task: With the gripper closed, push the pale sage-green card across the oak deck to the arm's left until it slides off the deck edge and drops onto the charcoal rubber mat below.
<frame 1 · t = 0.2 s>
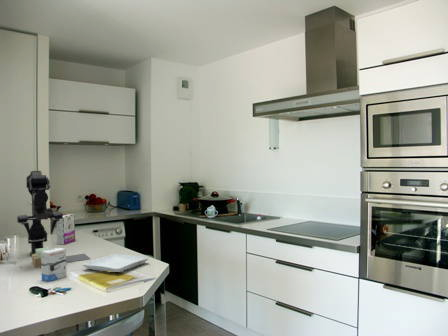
hand: (40, 235, 177), 14 cm above the table, fingers open, 9 cm apart
deck: (48, 262, 182), on the table
mat: (74, 258, 189), on the table
ink box: (54, 278, 157), on the table
salad plate: (116, 268, 172), on the table
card: (43, 255, 181), point 4 cm above the table, touching deck
candy bar box: (66, 243, 228), on the table
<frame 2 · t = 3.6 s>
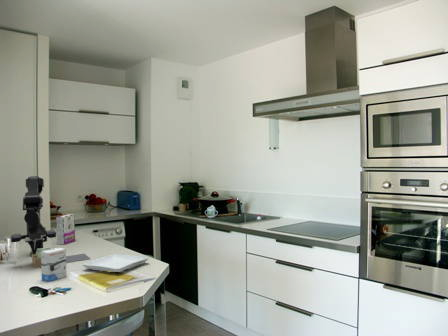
hand: (34, 254, 179), 5 cm above the table, fingers closed
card: (43, 255, 181), point 4 cm above the table, touching deck, gripper
everything else where it was.
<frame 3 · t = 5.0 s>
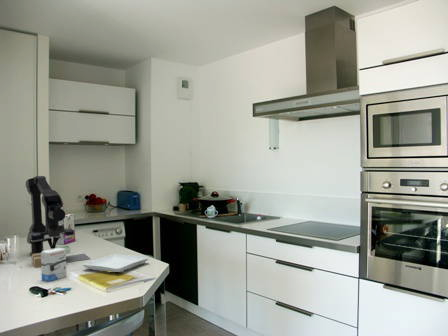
hand: (52, 251, 183), 5 cm above the table, fingers closed
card: (62, 252, 186), point 4 cm above the table, touching deck
everything else where it was.
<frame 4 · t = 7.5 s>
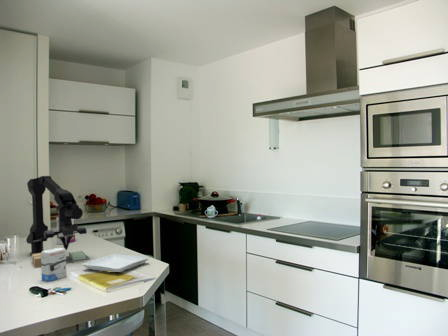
hand: (66, 249, 187), 5 cm above the table, fingers closed
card: (76, 252, 189), point 3 cm above the table, tilted 180°, touching mat
everything else where it was.
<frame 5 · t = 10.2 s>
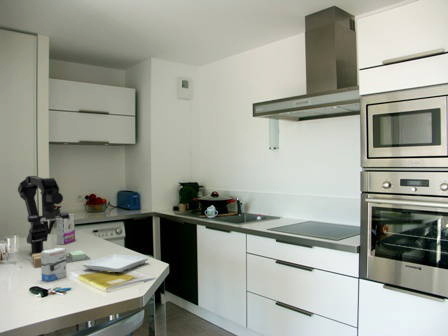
hand: (49, 234, 192), 12 cm above the table, fingers closed
nothing on the table moved.
at the end: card inside the target area (0.6 cm from its centre), point 2.8 cm above the table; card moved 15.0 cm from its start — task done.
